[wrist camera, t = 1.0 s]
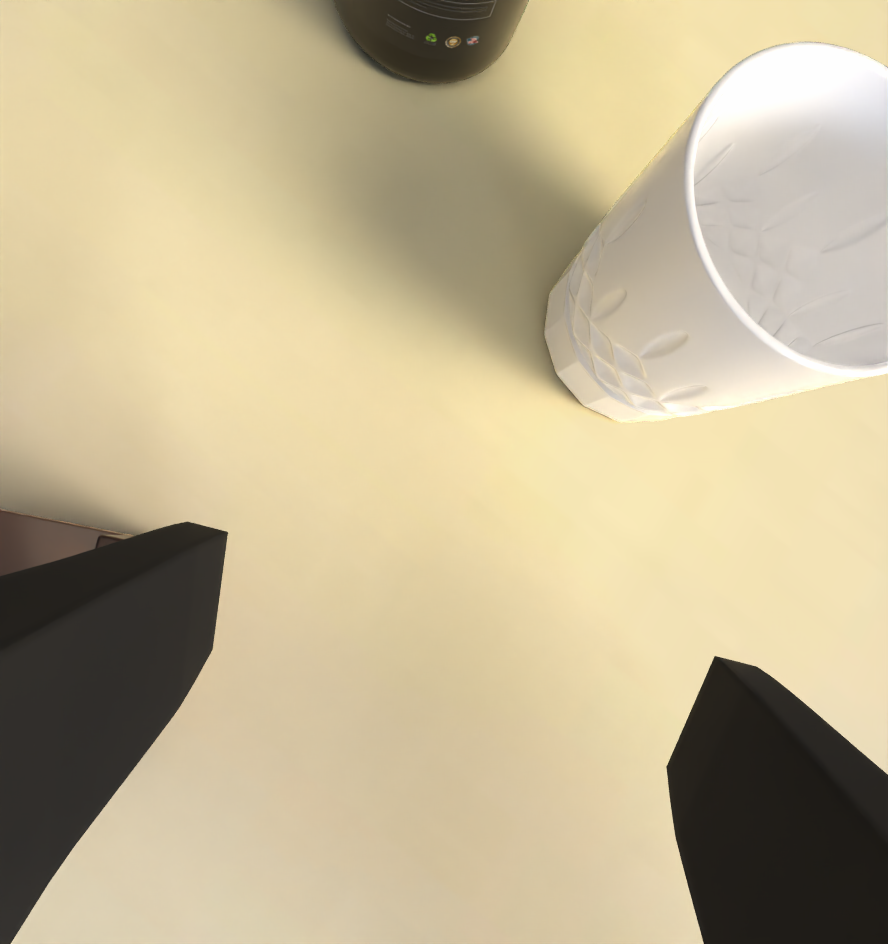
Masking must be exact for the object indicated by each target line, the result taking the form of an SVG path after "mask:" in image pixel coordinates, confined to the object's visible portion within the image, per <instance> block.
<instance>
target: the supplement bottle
mask: <svg viewBox="0 0 888 944" xmlns="http://www.w3.org/2000/svg"><path fill="white" fill-rule="evenodd" d="M334 2H335V5H336V8H337V11H338V13H339V16H340V18H341V20H342V22H343V24H344V26H345V27H346V29H347V30H348V32H349V33H350V35H351V36H352V38H353V39H354V40H355V42H356V43H357V44H358V45H359V46H360V47H361V48H362V50H363V51H364V52H365V53H367V54H368V55H369V56H370V57H371V58H372V59H374V60H375V61H376V62H377V63H379V64H380V65H382V66H383V67H385V68H387V69H388V70H390V71H392V72H394V73H396V74H398V75H400V76H403V77H406V78H409V79H412V80H416V81H420V82H426V83H451V82H457V81H461V80H465V79H467V78H470V77H473V76H475V75H477V74H479V73H481V72H482V71H484V70H485V69H487V68H488V67H489V66H490V65H492V64H493V63H494V62H495V61H496V60H497V59H498V58H499V57H500V56H501V54H502V53H503V52H504V50H505V49H506V47H507V46H508V44H509V42H510V40H511V39H512V37H513V35H514V32H515V30H516V28H517V26H518V24H519V22H520V20H521V17H522V15H523V13H524V11H525V8H526V6H527V4H528V2H529V0H334Z"/></svg>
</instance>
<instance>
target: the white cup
mask: <svg viewBox="0 0 888 944" xmlns="http://www.w3.org/2000/svg"><path fill="white" fill-rule="evenodd" d="M544 336H545V339H546V343H547V346H548V349H549V352H550V356H551V359H552V362H553V366H554V369H555V372H556V374H557V376H558V377H559V378H560V379H561V380H562V381H563V383H564V384H565V385H566V386H567V387H568V388H569V390H570V391H571V392H572V393H573V394H574V395H575V397H576V398H577V399H578V400H579V401H580V402H581V404H582V405H583V406H585V407H587V408H589V409H592V410H594V411H596V412H598V413H600V414H602V415H605V416H607V417H609V418H611V419H613V420H616V421H618V422H647V421H661V420H665V419H669V418H673V417H677V416H690V415H697V414H702V413H707V412H712V411H717V410H721V409H727V408H732V407H737V406H742V405H749V404H754V403H758V402H762V401H767V400H771V399H775V398H780V397H784V396H788V395H793V394H797V393H801V392H806V391H810V390H814V389H819V388H823V387H827V386H832V385H836V384H841V383H845V382H850V381H854V380H859V379H863V378H868V377H872V376H877V375H882V374H886V373H888V67H887V66H885V65H883V64H882V63H880V62H878V61H876V60H875V59H873V58H871V57H869V56H866V55H864V54H862V53H860V52H857V51H854V50H852V49H849V48H845V47H842V46H838V45H833V44H828V43H821V42H792V43H785V44H780V45H776V46H772V47H769V48H766V49H763V50H761V51H759V52H756V53H754V54H752V55H750V56H749V57H747V58H745V59H743V60H742V61H740V62H739V63H737V64H736V65H735V66H733V67H732V68H731V69H730V70H729V71H727V72H726V73H725V74H724V75H723V76H722V77H721V78H720V79H719V80H718V81H717V83H716V84H715V85H714V86H713V87H712V89H711V90H710V91H709V92H708V93H707V95H706V96H705V97H704V98H703V99H702V101H701V102H700V103H699V104H698V105H697V107H696V108H695V109H694V110H693V111H692V113H691V114H690V115H689V116H688V117H687V119H686V120H685V121H684V122H683V123H682V124H681V126H680V127H679V128H678V129H677V130H676V132H675V133H674V134H673V135H672V136H671V138H670V139H669V140H668V141H667V142H666V143H665V145H664V146H663V147H662V148H661V149H660V150H659V152H658V153H657V154H656V155H655V156H654V158H653V159H652V160H651V161H650V162H649V163H648V165H647V166H646V167H645V168H644V169H643V170H642V172H641V173H640V174H639V175H638V176H637V177H636V179H635V180H634V181H633V182H632V183H631V185H630V186H629V187H628V188H627V189H626V190H625V192H624V193H623V194H622V195H621V196H620V198H619V199H618V200H617V201H616V202H615V204H614V205H613V206H612V207H611V209H610V210H609V211H608V213H607V214H606V215H605V216H604V217H603V219H602V220H601V222H600V224H599V225H598V226H597V227H596V228H595V230H594V231H593V232H592V233H591V234H590V236H589V237H588V238H587V240H586V241H585V243H584V245H583V248H582V250H581V251H580V252H579V253H578V254H577V255H576V256H575V258H574V259H573V260H572V261H571V263H570V264H569V265H568V267H567V268H566V270H565V271H564V273H563V274H562V276H561V277H560V279H559V280H558V281H557V283H556V284H555V286H554V287H553V289H552V290H551V292H550V293H549V299H548V307H547V314H546V322H545V329H544Z"/></svg>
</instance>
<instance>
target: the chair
mask: <svg viewBox="0 0 888 944" xmlns="http://www.w3.org/2000/svg"><path fill="white" fill-rule="evenodd" d="M133 536H135V535H130V534H125V533H119V532H114V531H109V530H104V529H99V528H94V527H89V526H84V525H79V524H74V523H69V522H64V521H59V520H54V519H49V518H44V517H39V516H34V515H29V514H24V513H19V512H14V511H9V510H4V509H0V576H2V575H6V574H10V573H13V572H17V571H20V570H24V569H28V568H31V567H35V566H39V565H42V564H46V563H50V562H53V561H57V560H60V559H63V558H67V557H70V556H73V555H76V554H79V553H83V552H86V551H89V550H92V549H95V548H99V547H102V546H105V545H108V544H111V543H115V542H118V541H121V540H124V539H127V538H130V537H133Z"/></svg>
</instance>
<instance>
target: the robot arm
mask: <svg viewBox="0 0 888 944" xmlns="http://www.w3.org/2000/svg"><path fill="white" fill-rule="evenodd" d="M227 534H228V532H226V531H222V530H218V529H214V528H210V527H206V526H202V525H198V524H194V523H190V522H184V523H179V524H174V525H170V526H167V527H163V528H159V529H156V530H153V531H149V532H146V533H143V534H140V535H137V536H133V537H130V538H127V539H124V540H121V541H118V542H115V543H111V544H108V545H105V546H102V547H99V548H95V549H92V550H89V551H86V552H83V553H79V554H76V555H73V556H70V557H67V558H63V559H60V560H57V561H53V562H50V563H46V564H42V565H39V566H35V567H31V568H28V569H24V570H20V571H17V572H13V573H10V574H6V575H2V576H0V944H11V942H12V940H13V939H14V937H15V936H16V934H17V932H18V931H19V929H20V928H21V926H22V925H23V923H24V921H25V920H26V918H27V917H28V915H29V913H30V912H31V910H32V909H33V907H34V905H35V904H36V902H37V901H38V899H39V898H40V896H41V894H42V893H43V891H44V890H45V888H46V886H47V885H48V883H49V882H50V880H51V879H52V877H53V876H54V874H55V873H56V872H57V870H58V869H59V867H60V866H61V864H62V863H63V862H64V860H65V859H66V857H67V856H68V855H69V853H70V852H71V850H72V849H73V847H74V846H75V845H76V843H77V842H78V841H79V839H80V838H81V837H82V835H83V834H84V833H85V832H86V830H87V829H88V828H89V826H90V825H91V824H92V822H93V821H94V820H95V818H96V817H97V816H98V815H99V813H100V812H101V811H102V809H103V808H104V807H105V805H106V804H107V803H108V801H109V800H110V799H111V797H112V796H113V795H114V794H115V792H116V791H117V790H118V788H119V787H120V786H121V784H122V783H123V782H124V780H125V779H126V778H127V777H128V775H129V774H130V773H131V771H132V770H133V769H134V767H135V766H136V765H137V763H138V762H139V761H140V760H141V758H142V757H143V756H144V754H145V753H146V752H147V750H148V749H149V748H150V746H151V745H152V744H153V742H154V741H155V740H156V738H157V737H158V736H159V734H160V733H161V732H162V730H163V729H164V728H165V726H166V725H167V724H168V722H169V721H170V720H171V718H172V717H173V716H174V714H175V713H176V712H177V710H178V709H179V707H180V706H181V704H182V702H183V701H184V699H185V697H186V696H187V694H188V692H189V690H190V689H191V687H192V685H193V684H194V682H195V680H196V678H197V677H198V675H199V673H200V671H201V669H202V668H203V666H204V664H205V662H206V660H207V659H208V657H209V655H210V653H211V651H212V649H213V641H214V634H215V626H216V618H217V611H218V603H219V596H220V588H221V580H222V573H223V565H224V557H225V550H226V542H227ZM667 775H668V784H669V793H670V802H671V809H672V816H673V823H674V829H675V836H676V840H677V844H678V848H679V852H680V856H681V860H682V864H683V868H684V872H685V875H686V879H687V883H688V887H689V890H690V894H691V898H692V902H693V905H694V909H695V913H696V916H697V920H698V924H699V927H700V931H701V935H702V938H703V942H704V944H888V775H887V774H886V773H885V772H884V771H883V770H881V769H880V768H879V767H878V766H877V765H876V764H874V763H873V762H872V761H871V760H870V759H869V758H867V757H866V756H865V755H864V754H863V753H862V752H860V751H859V750H858V749H857V748H856V747H855V746H853V745H852V744H851V743H850V742H849V741H848V740H847V739H845V738H844V737H843V736H842V735H841V734H840V733H838V732H837V731H836V730H835V729H834V728H833V727H831V726H830V725H829V724H828V723H827V722H826V721H824V720H823V719H822V718H821V717H820V716H819V715H818V714H816V713H815V712H814V711H813V710H812V709H811V708H809V707H808V706H807V705H806V704H805V703H803V702H802V701H801V700H800V699H799V698H797V697H796V696H795V695H794V694H793V693H791V692H790V691H789V690H788V689H787V688H785V687H784V686H783V685H781V684H780V683H779V682H778V681H776V680H775V679H774V678H772V677H771V676H770V675H768V674H767V673H765V672H764V671H762V670H761V669H760V668H758V667H756V666H752V665H748V664H744V663H740V662H736V661H732V660H728V659H724V658H720V657H717V656H715V657H714V659H713V661H712V664H711V666H710V668H709V671H708V673H707V675H706V678H705V680H704V682H703V684H702V687H701V689H700V691H699V694H698V696H697V698H696V701H695V703H694V705H693V707H692V710H691V712H690V714H689V717H688V719H687V721H686V724H685V726H684V728H683V730H682V733H681V735H680V737H679V740H678V742H677V744H676V747H675V749H674V751H673V753H672V756H671V758H670V760H669V763H668V765H667Z"/></svg>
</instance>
